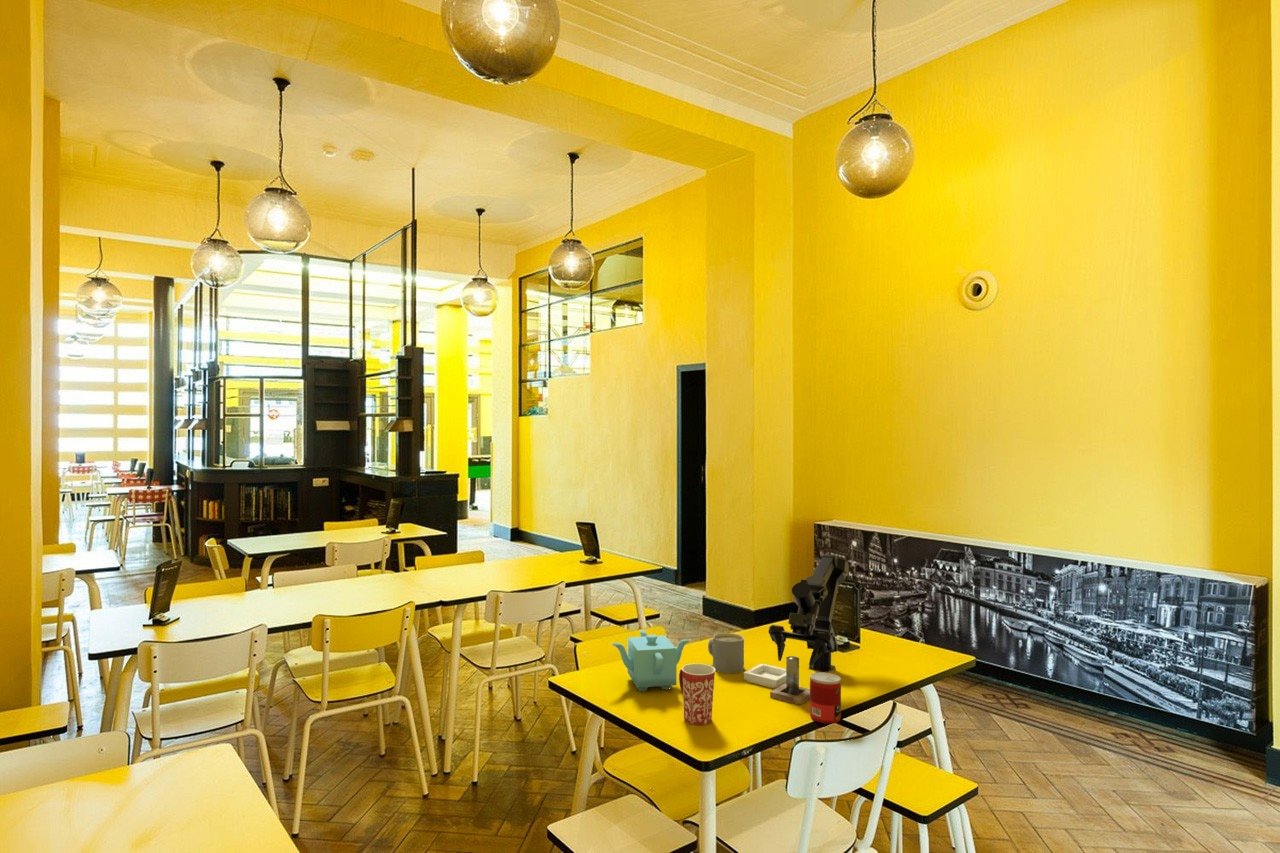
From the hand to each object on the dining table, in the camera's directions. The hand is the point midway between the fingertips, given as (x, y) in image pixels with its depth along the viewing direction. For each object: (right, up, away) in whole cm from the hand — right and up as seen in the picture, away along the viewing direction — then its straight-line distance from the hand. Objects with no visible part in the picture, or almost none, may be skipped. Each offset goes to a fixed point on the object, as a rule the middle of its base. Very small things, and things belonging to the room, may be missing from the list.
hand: (794, 663), depth 203 cm
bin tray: (-5, -9, +12) cm, 16 cm away
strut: (-1, -9, -1) cm, 9 cm away
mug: (-30, -9, -17) cm, 36 cm away
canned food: (+4, -9, -17) cm, 20 cm away
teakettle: (-42, -9, +8) cm, 44 cm away
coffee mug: (-17, -10, +24) cm, 31 cm away
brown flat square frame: (-1, -9, -1) cm, 9 cm away
